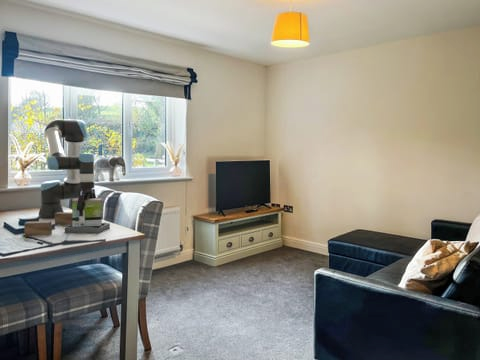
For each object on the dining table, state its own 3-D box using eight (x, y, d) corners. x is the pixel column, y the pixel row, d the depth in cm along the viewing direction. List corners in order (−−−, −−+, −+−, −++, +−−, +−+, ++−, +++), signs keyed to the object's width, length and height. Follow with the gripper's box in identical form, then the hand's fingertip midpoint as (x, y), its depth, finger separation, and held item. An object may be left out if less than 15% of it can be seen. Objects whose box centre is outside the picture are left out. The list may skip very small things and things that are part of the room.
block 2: (58, 223, 233) (58, 212, 233) (77, 224, 232) (77, 212, 232) (55, 224, 229) (54, 213, 229) (74, 225, 228) (74, 213, 228)
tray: (77, 227, 223) (77, 222, 223) (109, 228, 222) (109, 223, 221) (64, 232, 209) (64, 227, 209) (98, 233, 208) (98, 228, 207)
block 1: (27, 234, 204) (26, 221, 203) (51, 234, 206) (51, 221, 206) (24, 236, 200) (24, 223, 199) (49, 235, 202) (49, 222, 202)
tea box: (72, 227, 208) (71, 200, 206) (73, 224, 217) (72, 198, 216) (102, 226, 213) (101, 199, 212) (101, 222, 222) (101, 197, 221)
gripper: (90, 179, 225) (91, 215, 227) (68, 183, 201) (69, 223, 203) (103, 179, 225) (103, 216, 227) (82, 183, 201) (83, 224, 202)
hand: (87, 219), depth 215 cm, fingers closed on tea box, 12 cm apart
